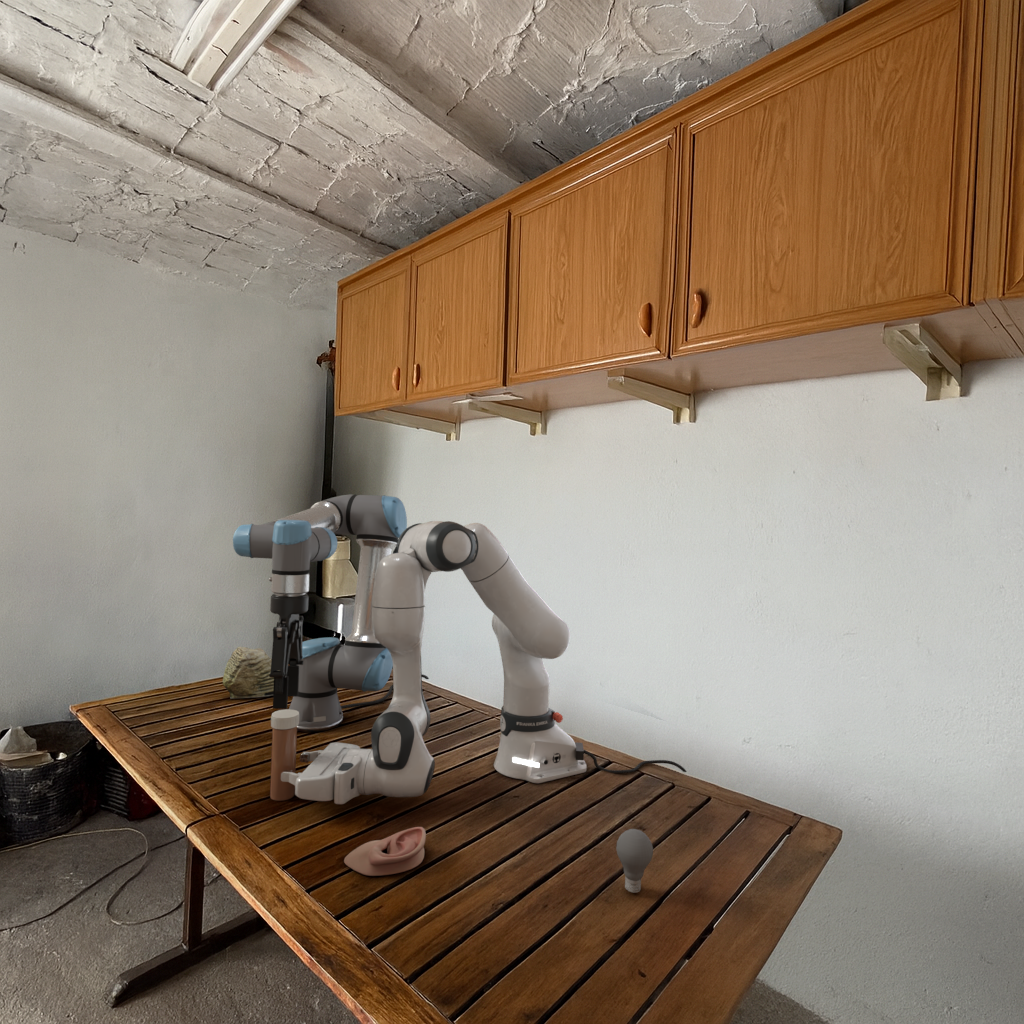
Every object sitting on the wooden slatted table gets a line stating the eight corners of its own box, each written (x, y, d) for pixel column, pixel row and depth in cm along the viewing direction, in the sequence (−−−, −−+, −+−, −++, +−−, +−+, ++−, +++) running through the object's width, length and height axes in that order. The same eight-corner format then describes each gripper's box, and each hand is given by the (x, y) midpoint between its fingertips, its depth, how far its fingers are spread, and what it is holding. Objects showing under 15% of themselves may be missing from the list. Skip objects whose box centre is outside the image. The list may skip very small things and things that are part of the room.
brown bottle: (287, 801, 131) (290, 720, 131) (265, 799, 132) (268, 718, 131) (298, 791, 136) (301, 712, 136) (277, 788, 136) (280, 710, 136)
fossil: (218, 695, 195) (220, 647, 195) (278, 685, 208) (279, 640, 207) (228, 703, 189) (230, 653, 188) (289, 692, 201) (290, 645, 201)
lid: (291, 730, 130) (291, 719, 130) (265, 728, 131) (265, 716, 131) (303, 721, 136) (304, 710, 136) (278, 719, 137) (279, 708, 137)
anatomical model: (336, 847, 108) (365, 815, 119) (335, 870, 108) (364, 836, 119) (410, 859, 105) (432, 825, 116) (409, 883, 105) (431, 846, 116)
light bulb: (610, 879, 108) (613, 822, 108) (644, 879, 109) (647, 822, 109) (619, 902, 102) (622, 840, 102) (655, 901, 103) (658, 840, 103)
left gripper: (285, 586, 143) (282, 687, 143) (255, 600, 123) (250, 718, 123) (319, 587, 143) (315, 687, 144) (294, 602, 123) (290, 718, 123)
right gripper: (371, 737, 143) (311, 733, 144) (340, 776, 122) (271, 771, 123) (370, 765, 143) (310, 760, 144) (339, 808, 122) (269, 803, 123)
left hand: (285, 701), depth 133 cm, fingers open, 7 cm apart
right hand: (292, 765), depth 133 cm, fingers open, 8 cm apart
